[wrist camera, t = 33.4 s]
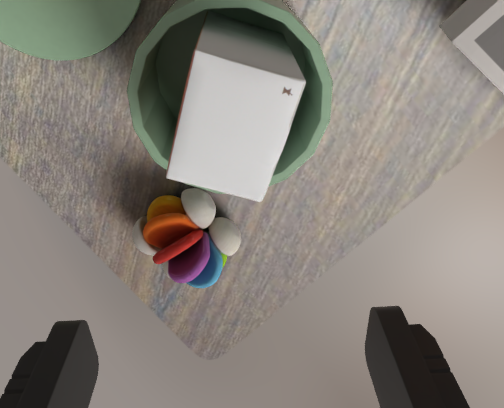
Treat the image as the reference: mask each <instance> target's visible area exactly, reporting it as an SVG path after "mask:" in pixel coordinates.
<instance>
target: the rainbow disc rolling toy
mask: <svg viewBox="0 0 504 408" xmlns="http://www.w3.org/2000/svg"><path fill="white" fill-rule="evenodd" d="M215 213H216V207H215V203H214V201H213V199H212V197H211V196H210V195H209V194H208V193H207V192H206V191H204V190H202V189H198V188H190V189H186V190H184V191H183V192H182V194H181V198H178V197H176V196H172V195H165V196H160V197H157V198H156V199H155V200H154V201H153V202H152V203H151V204H150V206H149V208H148V211H147V216H143V217H141V218H139V219H138V220H137V222H136V223H135V225H134V227H133V231H132V238H133V242H134V244H135V246H136V247H137V248H138V249H139V250H140V251H141V252H143V253H145V254H148V255H154V256H153V261H154V262H155V263H156V264H161V263H162V267H163V270H164V272H165V274H166V275H167V276H168V277H169V278H170V279H172V280H174V281H175V282H178V283H187V284H189V285H190V286H192V287H196V288H206V287H209V286H211V285H213V284H214V283H215V282H216V281H217V280H218V278H219V276H220V274H221V271H222V268H223V267H224V265H225V263H226V260H227V256H231V255H233V254H234V253H235V252H236V251H237V250H238V248H239V246H240V243H241V234H240V231H239V229H238V227H237V225H236V224H235V223H234V222H233V221H231V220H230V219H227V218H224V217H217V218H214V217H215ZM200 228H204V229H200Z"/></svg>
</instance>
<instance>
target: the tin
mask: <svg viewBox="0 0 504 408" xmlns="http://www.w3.org/2000/svg"><path fill="white" fill-rule="evenodd" d="M207 11H211V12H214V13H218V14H221V15H224V16H227V17H230V18H233V19H236V20H239V21H242V22H245V23H249V24H252V25H255V26H258V27H261V28H264V29H267V30H271V31H274V32H277V33H280V34H283V35H284V37H285V39H286V41H287V43H288V45H289V47H290V49H291V51H292V54H293V56H294V58H295V60H296V62H297V64H298V66H299V68H300V70H301V72H302V74H303V77H304V78H305V80H306V83H305V87H304V89H303V92H302V95H301V98H300V101H299V104H298V107H297V109H296V112H295V115H294V118H293V121H292V124H291V127H290V131H289V135H288V137H287V140H286V143H285V146H284V148H283V151H282V153H281V155H280V158H279V160H278V163H277V165H276V168H275V170H274V173H273V176H272V178H271V181H270V184H269V186H271V185H273V184H276V183H278V182H281V181H283V180H286V179H287V178H288V177H289V176H290V175H292V174H293V173H294V172H295V171H296V170H297V169H298V168H299V167H300V166H301V165H303V164H304V163H305V162H306V161H307V160H308V159H309V158H310V157H311V156H312V155H313V154H314V152H315V150H316V148H317V146H318V144H319V142H320V140H321V138H322V136H323V134H324V132H325V130H326V128H327V126H328V124H329V122H330V115H331V100H332V86H333V83H332V78H331V76H330V73H329V70H328V67H327V64H326V61H325V59H324V56H323V53H322V50H321V47H320V44H319V43H318V41H317V40H316V39H315V38H314V36H313V35H312V34H311V33H310V31H309V30H308V29H307V28H306V26H305V25H304V24H303V23H302V21H301V20H300V19H299V18H298V17H297V16H296V15H295V14H294V13H293V12H292V11H291V10H290V8H289V7H288V6H287V5H286V4H285V3H284V2H283V1H282V0H177V1H175V3H174V4H173V5H172V6H171V7H170V8H169V10H168V11H167V12H166V13H165V14H164V16H163V17H162V18H161V19H160V20H159V22H158V23H157V24H156V26H155V27H154V28H153V29H152V31H151V32H150V33H149V35H148V36H147V37H146V38H145V40H144V41H143V42H142V43H141V45H140V46H139V47H138V49H137V51H136V53H135V58H134V62H133V66H132V70H131V74H130V79H129V83H128V87H127V94H128V100H129V105H130V111H131V117H132V122H133V128H134V130H135V132H136V133H137V135H138V136H139V138H140V140H141V141H142V143H143V144H144V146H145V148H146V149H147V151H148V152H149V154H150V155H151V157H152V159H153V160H154V161H155V162H156V163H157V164H159V165H160V166H161V167H163V168H164V169H165V170H167V167H168V162H169V157H170V153H171V149H172V144H173V139H174V135H175V130H176V125H177V121H178V116H179V111H180V107H181V102H182V98H183V93H184V89H185V85H186V80H187V76H188V72H189V68H190V64H191V59H192V55H193V52H194V49H195V47H196V44H197V41H198V38H199V35H200V32H201V29H202V26H203V23H204V20H205V16H206V13H207ZM184 184H187V183H184ZM188 185H191V186H194V187H197V188H201V189H204V190H207V191H210V192H214V193H217V194H226V193H223V192H219V191H215V190H211V189H208V188H204V187H200V186H196V185H192V184H188Z"/></svg>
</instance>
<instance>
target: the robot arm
mask: <svg viewBox="0 0 504 408" xmlns="http://www.w3.org/2000/svg"><path fill="white" fill-rule="evenodd" d="M365 355H366V361H367V366H368V369H369V372H370V376H371V379H372V382H373V385H374V388H375V392H376V395H377V398H378V401H379V404H380V408H470V407H469V405H468V403H467V401H466V399H465V398H464V395H463V393H462V391H461V389H460V387H459V385H458V383H457V381H456V379H455V377H454V375H453V374H452V373H451V372H450V367H449V365H448V363H447V361H446V359H444V357H443V354H442V351H441V349H440V348H439V346H438V344H437V342H436V340H435V338H434V337H433V336H432V335H431V334H430V333H429V332H428V331H427V330H426V329H425V328H424V327H423V326H422V325H420V324H415V325H409V324H408V322H407V320H406V318H405V316H404V313H403V311H402V310H401V308H400V307H399V306H387V307H372V308H371V310H370V315H369V323H368V329H367V335H366V341H365ZM98 365H99V363H98V355H97V352H96V349H95V346H94V342H93V339H92V336H91V333H90V330H89V326H88V324H87V322H86V321H85V320H77V321H58V322H56V323H55V324H54V325H53V327H52V329H51V332H50V334H49V336H48V338H47V340H46V342H35V343H34V345H33V346H32V347H31V348H30V349H29V350H28V351H27V352H26V353H25V354H24V355H23V356H22V357H21V358H20V360H19V362H18V364H17V366H16V368H15V370H14V372H13V374H12V379H10V380H9V382H8V384H7V386H6V388H5V392H4V394H2V396H1V398H0V408H88V406H89V403H90V400H91V396H92V393H93V390H94V386H95V383H96V380H97V376H98Z"/></svg>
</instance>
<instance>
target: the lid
mask: <svg viewBox="0 0 504 408" xmlns="http://www.w3.org/2000/svg"><path fill="white" fill-rule="evenodd" d="M140 3H141V0H0V41H1V42H3V43H4V44H6V45H8V46H10V47H12V48H14V49H15V50H18V51H20V52H23V53H25V54H28V55H31V56H35V57H38V58H42V59H49V60H75V59H81V58H84V57H88V56H91V55H93V54H96V53H98V52H100V51H102V50H104V49H105V48H107V47H109V46H110V45H111V44H112V43H114V42H115V41H116V40H117V39H118V38H119V37H120V36H121V35H122V34H123V33H124V32H125V31H126V30H127V28H128V27H129V25H130V24H131V22H132V21H133V19H134V17H135V15H136V13H137V11H138V8H139V6H140Z"/></svg>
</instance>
